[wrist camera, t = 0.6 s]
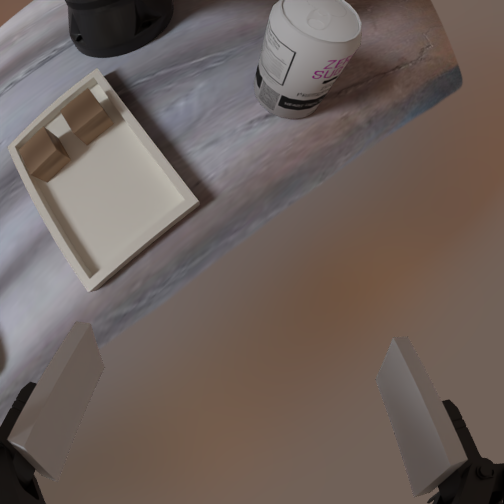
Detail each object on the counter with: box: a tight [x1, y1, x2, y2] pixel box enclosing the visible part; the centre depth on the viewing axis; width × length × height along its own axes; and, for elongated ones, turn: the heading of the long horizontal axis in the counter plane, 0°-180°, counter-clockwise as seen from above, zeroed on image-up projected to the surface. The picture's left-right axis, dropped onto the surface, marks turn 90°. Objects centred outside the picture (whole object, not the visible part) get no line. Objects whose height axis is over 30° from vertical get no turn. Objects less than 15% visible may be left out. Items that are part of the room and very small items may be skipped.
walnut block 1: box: [19, 126, 71, 183], centre depth 29 cm, size 4×4×4 cm
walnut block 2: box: [60, 88, 114, 145], centre depth 29 cm, size 4×4×4 cm
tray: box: [8, 68, 200, 292], centre depth 31 cm, size 22×15×2 cm
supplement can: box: [254, 0, 362, 119], centre depth 27 cm, size 8×8×15 cm
